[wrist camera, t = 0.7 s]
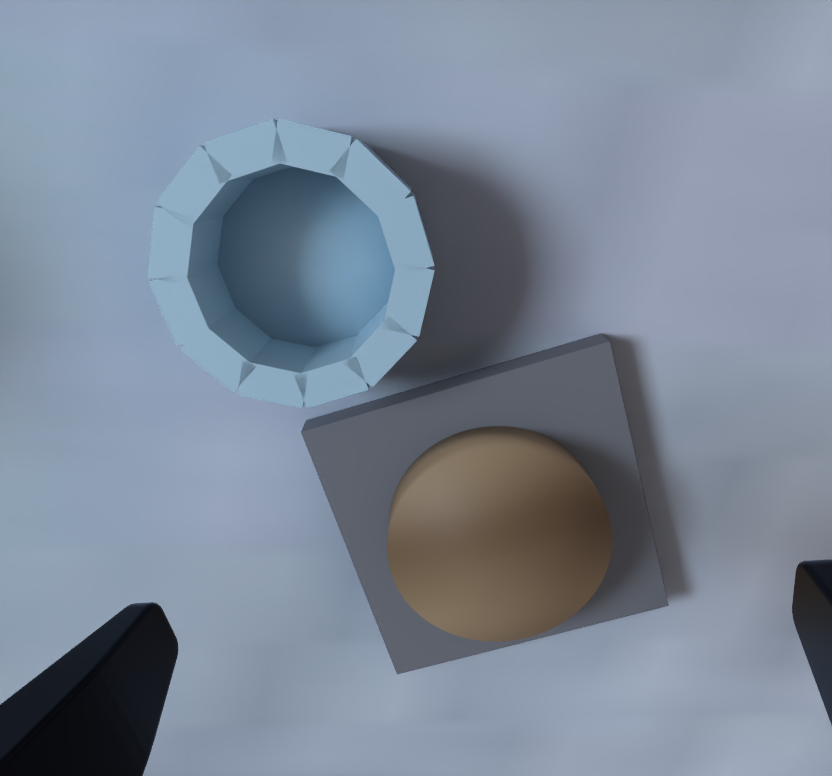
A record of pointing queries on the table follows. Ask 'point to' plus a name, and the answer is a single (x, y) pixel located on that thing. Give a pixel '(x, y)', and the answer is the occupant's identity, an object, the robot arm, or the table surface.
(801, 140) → the table surface
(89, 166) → the table surface
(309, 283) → the bowl
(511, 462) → the lid
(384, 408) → the mat
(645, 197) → the table surface
